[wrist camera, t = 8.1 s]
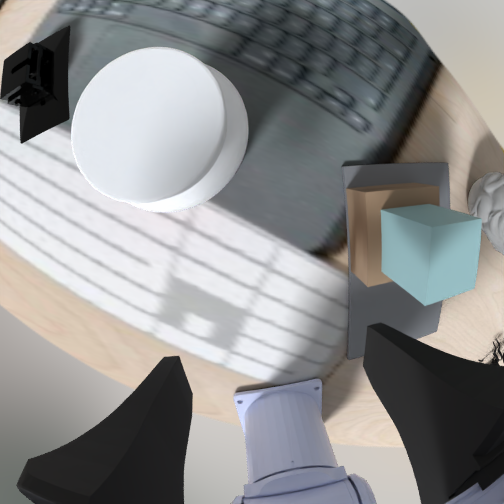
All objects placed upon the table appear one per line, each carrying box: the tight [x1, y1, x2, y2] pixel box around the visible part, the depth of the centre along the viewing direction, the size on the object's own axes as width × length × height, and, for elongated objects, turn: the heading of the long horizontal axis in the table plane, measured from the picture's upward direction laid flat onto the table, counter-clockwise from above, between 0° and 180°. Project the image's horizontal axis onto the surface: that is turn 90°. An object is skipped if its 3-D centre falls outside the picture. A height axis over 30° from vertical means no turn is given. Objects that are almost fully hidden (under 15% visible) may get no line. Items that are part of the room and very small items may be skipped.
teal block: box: [381, 204, 482, 306], centre depth 14 cm, size 4×4×5 cm
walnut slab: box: [346, 183, 440, 287], centre depth 17 cm, size 6×6×3 cm
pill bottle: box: [71, 47, 249, 213], centre depth 12 cm, size 6×6×11 cm
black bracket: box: [0, 26, 70, 144], centre depth 12 cm, size 12×7×5 cm, turn 8°
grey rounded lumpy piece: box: [468, 172, 504, 255], centre depth 16 cm, size 6×7×7 cm
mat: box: [342, 163, 450, 360], centre depth 20 cm, size 16×10×1 cm, turn 8°
